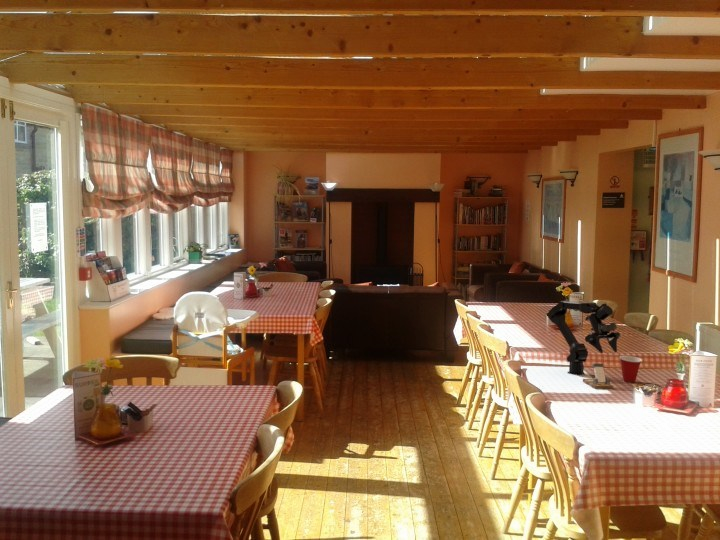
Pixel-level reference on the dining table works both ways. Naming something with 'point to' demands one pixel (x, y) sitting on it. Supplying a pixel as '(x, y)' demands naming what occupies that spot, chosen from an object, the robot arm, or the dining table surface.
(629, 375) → the plastic cup
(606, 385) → the switch base
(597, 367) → the switch lever
